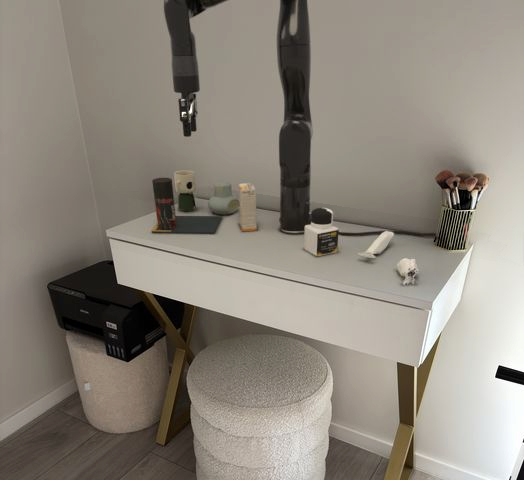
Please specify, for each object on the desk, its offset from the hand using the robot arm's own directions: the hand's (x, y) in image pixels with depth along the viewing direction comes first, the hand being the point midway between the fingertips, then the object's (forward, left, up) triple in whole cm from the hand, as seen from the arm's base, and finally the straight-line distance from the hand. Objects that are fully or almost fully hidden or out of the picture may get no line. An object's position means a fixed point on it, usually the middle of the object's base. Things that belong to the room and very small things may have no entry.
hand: (190, 133), depth 161 cm
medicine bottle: (-40, +22, -28) cm, 54 cm away
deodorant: (+9, +5, -28) cm, 30 cm away
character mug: (+6, -15, -28) cm, 33 cm away
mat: (+3, +1, -28) cm, 28 cm away
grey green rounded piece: (-7, -13, -28) cm, 32 cm away
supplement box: (-17, +2, -28) cm, 33 cm away
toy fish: (-56, +23, -28) cm, 67 cm away
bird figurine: (-62, +39, -28) cm, 78 cm away
